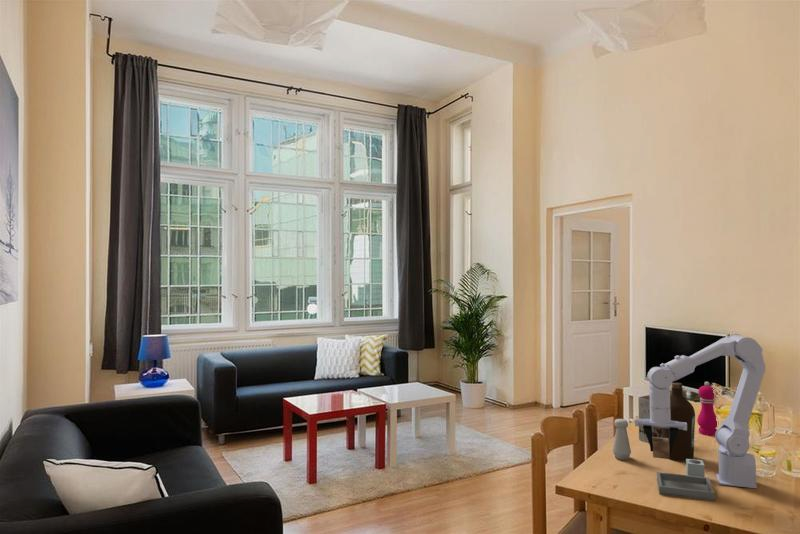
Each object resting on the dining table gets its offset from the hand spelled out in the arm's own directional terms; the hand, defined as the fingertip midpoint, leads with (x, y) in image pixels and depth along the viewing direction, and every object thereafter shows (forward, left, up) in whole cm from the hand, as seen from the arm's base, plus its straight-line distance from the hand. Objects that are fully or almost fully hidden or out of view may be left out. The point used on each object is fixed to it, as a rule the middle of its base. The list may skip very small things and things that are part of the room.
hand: (661, 451), depth 171 cm
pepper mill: (-20, -56, -9) cm, 60 cm away
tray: (-6, +7, -8) cm, 12 cm away
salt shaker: (+11, -16, -9) cm, 21 cm away
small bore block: (0, 0, -2) cm, 2 cm away
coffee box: (0, -41, -9) cm, 42 cm away
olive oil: (-7, -23, -9) cm, 25 cm away
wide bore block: (-10, -4, -8) cm, 13 cm away
